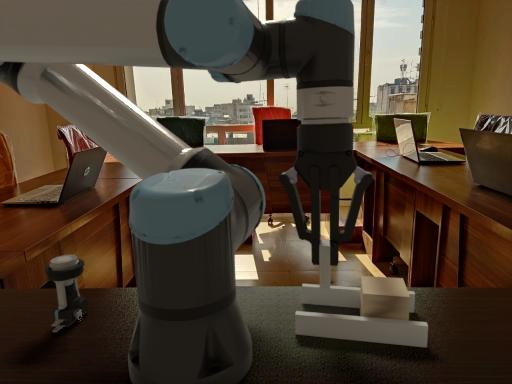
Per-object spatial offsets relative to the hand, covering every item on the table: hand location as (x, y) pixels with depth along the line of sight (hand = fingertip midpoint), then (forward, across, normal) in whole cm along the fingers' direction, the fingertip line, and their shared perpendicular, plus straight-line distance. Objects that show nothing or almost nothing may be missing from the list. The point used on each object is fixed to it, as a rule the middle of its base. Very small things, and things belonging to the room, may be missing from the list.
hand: (325, 285), depth 55 cm
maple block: (+6, +8, 0) cm, 10 cm away
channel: (+5, +5, 0) cm, 7 cm away
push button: (+5, -38, -8) cm, 39 cm away
